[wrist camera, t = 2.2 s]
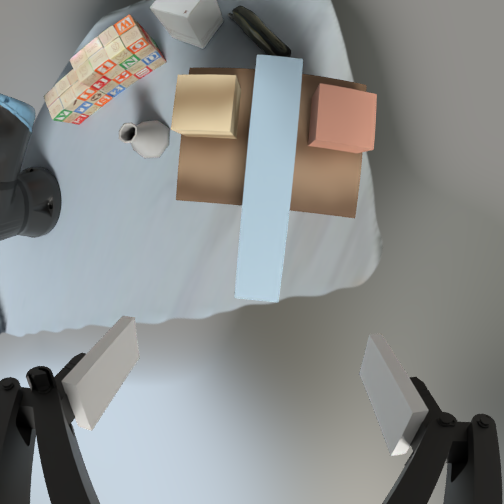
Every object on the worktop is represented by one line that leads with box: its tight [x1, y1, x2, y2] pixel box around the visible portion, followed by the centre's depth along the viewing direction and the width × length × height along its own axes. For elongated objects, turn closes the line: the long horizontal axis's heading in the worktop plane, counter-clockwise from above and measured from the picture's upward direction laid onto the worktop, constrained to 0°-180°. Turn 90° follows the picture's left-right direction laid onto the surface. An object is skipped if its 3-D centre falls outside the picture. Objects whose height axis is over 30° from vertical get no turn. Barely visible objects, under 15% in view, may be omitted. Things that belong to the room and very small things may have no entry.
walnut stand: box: [176, 68, 366, 218], centre depth 39 cm, size 14×18×22 cm
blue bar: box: [235, 55, 303, 302], centre depth 27 cm, size 22×4×4 cm, turn 175°
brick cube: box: [308, 83, 377, 153], centre depth 25 cm, size 5×5×5 cm
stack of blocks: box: [44, 14, 166, 125], centre depth 41 cm, size 21×6×12 cm, turn 118°
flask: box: [119, 120, 170, 158], centre depth 45 cm, size 7×7×10 cm
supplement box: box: [150, 0, 224, 49], centre depth 38 cm, size 7×7×13 cm
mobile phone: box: [228, 6, 291, 57], centre depth 42 cm, size 5×3×15 cm
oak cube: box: [171, 75, 241, 139], centre depth 25 cm, size 5×5×5 cm
